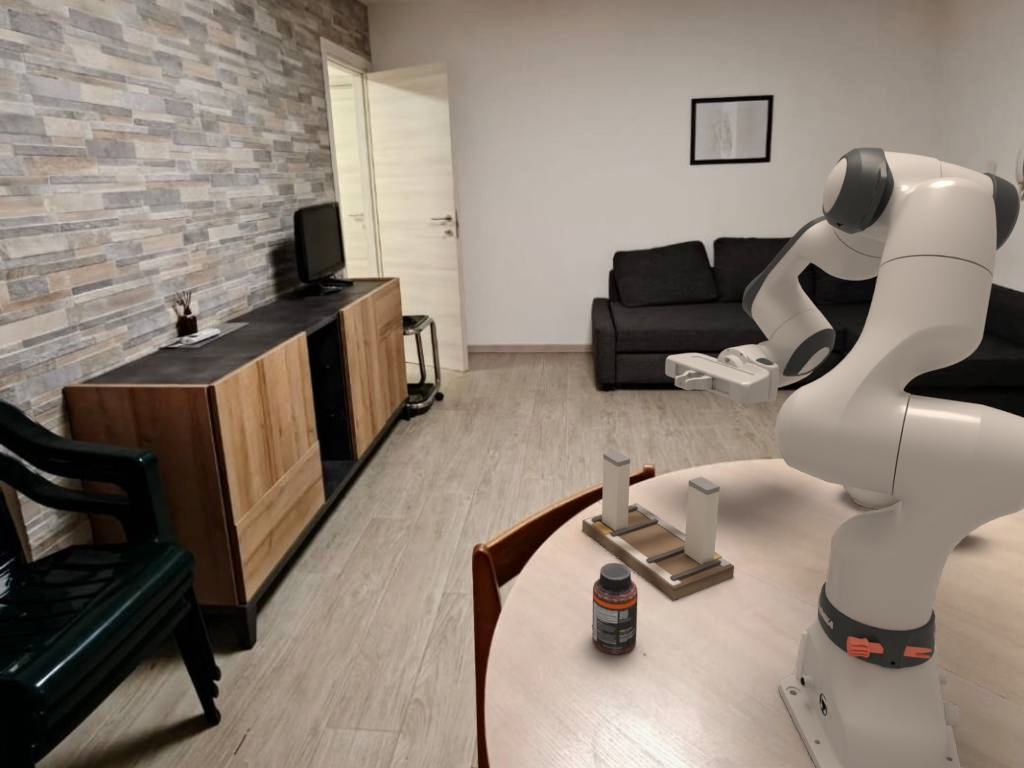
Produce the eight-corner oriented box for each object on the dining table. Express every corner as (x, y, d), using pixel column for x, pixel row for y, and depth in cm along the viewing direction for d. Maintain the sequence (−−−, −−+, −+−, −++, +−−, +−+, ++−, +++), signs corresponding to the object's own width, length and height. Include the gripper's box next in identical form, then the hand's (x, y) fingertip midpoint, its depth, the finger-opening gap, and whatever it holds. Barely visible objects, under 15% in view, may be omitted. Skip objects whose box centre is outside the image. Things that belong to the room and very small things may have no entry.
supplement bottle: (609, 622, 103) (611, 552, 100) (644, 641, 99) (648, 569, 96) (583, 643, 99) (584, 571, 96) (618, 663, 95) (621, 588, 92)
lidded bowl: (913, 495, 138) (922, 441, 135) (905, 523, 128) (915, 466, 125) (842, 479, 145) (849, 428, 141) (829, 505, 135) (836, 450, 131)
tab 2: (713, 560, 114) (719, 486, 110) (701, 564, 113) (707, 490, 109) (696, 548, 117) (701, 476, 113) (684, 553, 116) (688, 480, 112)
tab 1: (627, 527, 124) (630, 459, 120) (615, 531, 123) (617, 462, 119) (613, 518, 127) (615, 450, 123) (601, 521, 126) (603, 453, 122)
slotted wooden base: (733, 577, 113) (734, 562, 113) (673, 600, 108) (674, 585, 107) (636, 513, 133) (637, 500, 133) (582, 530, 128) (582, 517, 127)
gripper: (700, 341, 138) (642, 351, 132) (786, 367, 121) (725, 381, 114) (698, 373, 140) (640, 385, 133) (782, 403, 123) (722, 418, 116)
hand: (680, 383), depth 124 cm, fingers closed
